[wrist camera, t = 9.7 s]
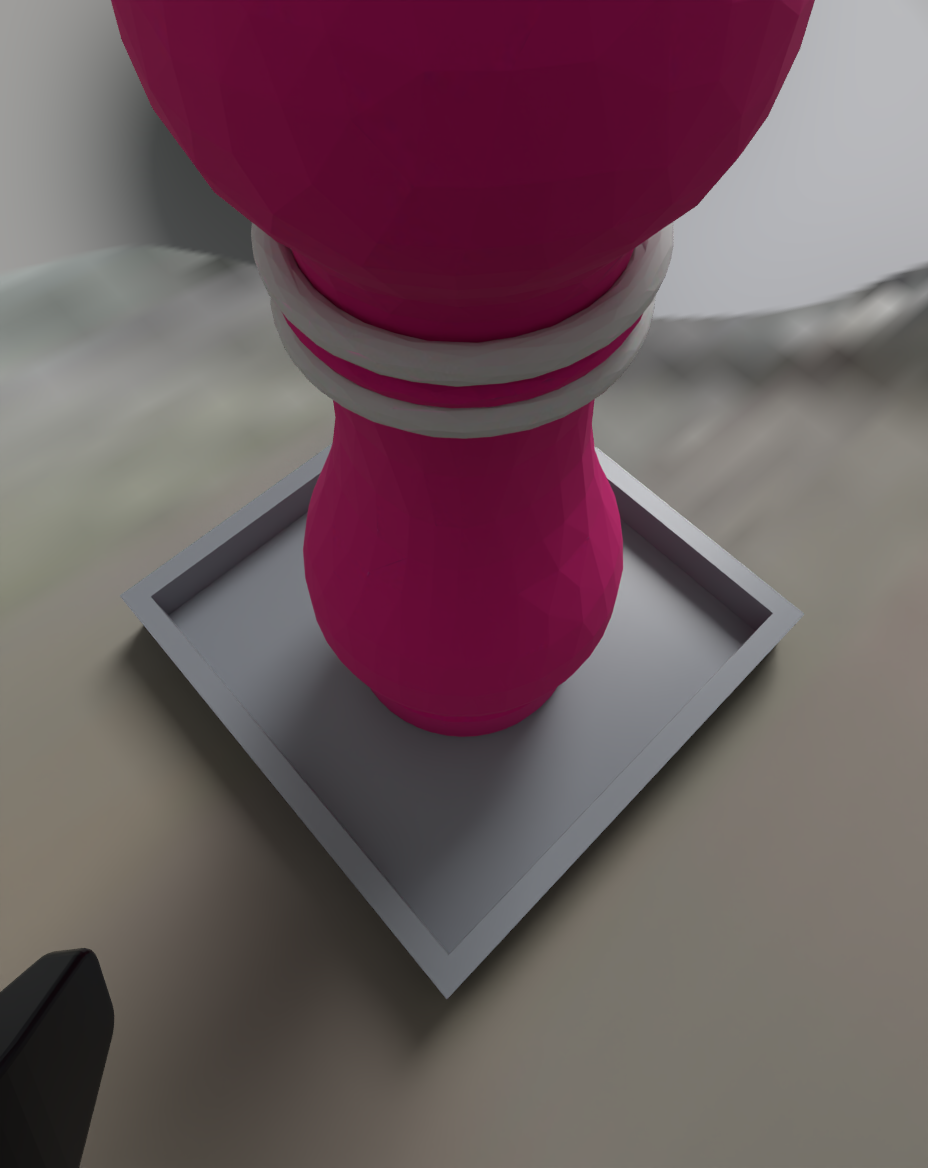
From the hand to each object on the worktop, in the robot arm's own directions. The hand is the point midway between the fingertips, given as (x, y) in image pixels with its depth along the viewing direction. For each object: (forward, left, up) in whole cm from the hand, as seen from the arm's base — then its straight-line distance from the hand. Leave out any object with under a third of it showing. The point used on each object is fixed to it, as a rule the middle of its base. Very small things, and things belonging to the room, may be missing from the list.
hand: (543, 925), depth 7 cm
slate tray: (+6, -5, -11) cm, 14 cm away
